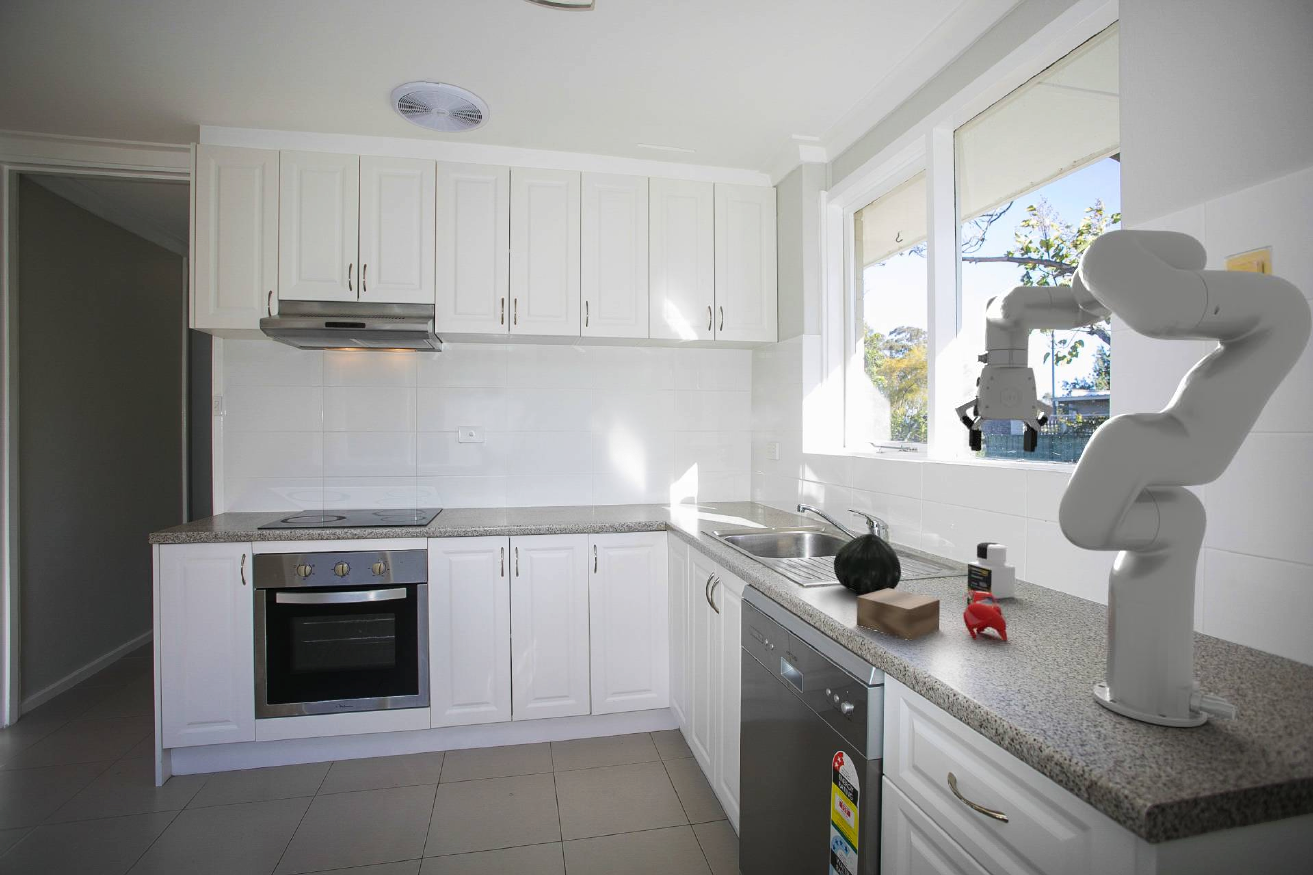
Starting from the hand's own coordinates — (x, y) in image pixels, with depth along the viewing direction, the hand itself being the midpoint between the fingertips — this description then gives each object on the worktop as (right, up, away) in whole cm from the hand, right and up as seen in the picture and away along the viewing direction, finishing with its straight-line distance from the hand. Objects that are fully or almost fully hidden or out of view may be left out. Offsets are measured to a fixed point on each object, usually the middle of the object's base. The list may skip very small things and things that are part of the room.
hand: (1002, 451), depth 121 cm
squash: (-16, -34, +30) cm, 48 cm away
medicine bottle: (+12, -34, +28) cm, 46 cm away
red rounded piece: (-4, -35, -2) cm, 35 cm away
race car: (+4, -35, +15) cm, 38 cm away
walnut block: (-19, -35, +3) cm, 40 cm away
